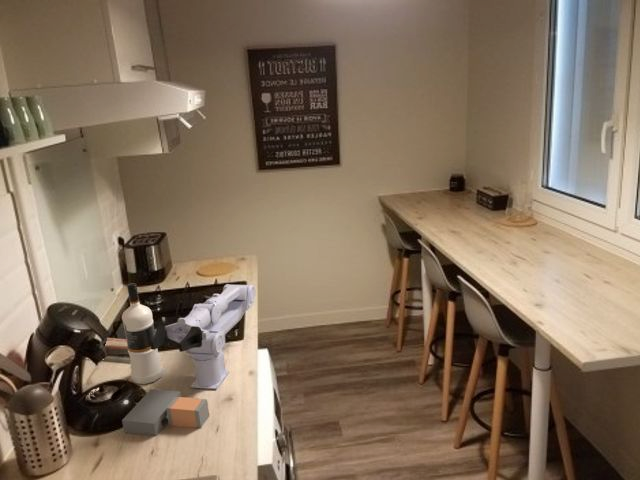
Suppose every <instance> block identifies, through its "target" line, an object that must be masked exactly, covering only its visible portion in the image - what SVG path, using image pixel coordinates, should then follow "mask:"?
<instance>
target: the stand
mask: <svg viewBox="0 0 640 480" xmlns="http://www.w3.org/2000/svg"><path fill="white" fill-rule="evenodd" d="M175 397H183V395H182V392H181V391H180V390H179V391H178V390H169V389H168V390H166V389H165V390H164V389H152V388H151V389H149V391H148V392H147V393H145V395H144V396H143V397H142V398H141V399H140V401H138V403H136V405H134V407H133V408H132V409H131V410H130V411H129V412H128V413H127V414H126V415H125V417H123V419H121V423H122V428H123V432H124V433H128V434H137V435H138V434H140V435H146V436H157V435H158V434H159V433H160V432H161V431H162V429H163V423H162V421H163V420H164V418H165V417H167V411H166V407H167V406H168V405H169V404H170V403H171V401H172V400H173V399H174V398H175Z"/></svg>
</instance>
